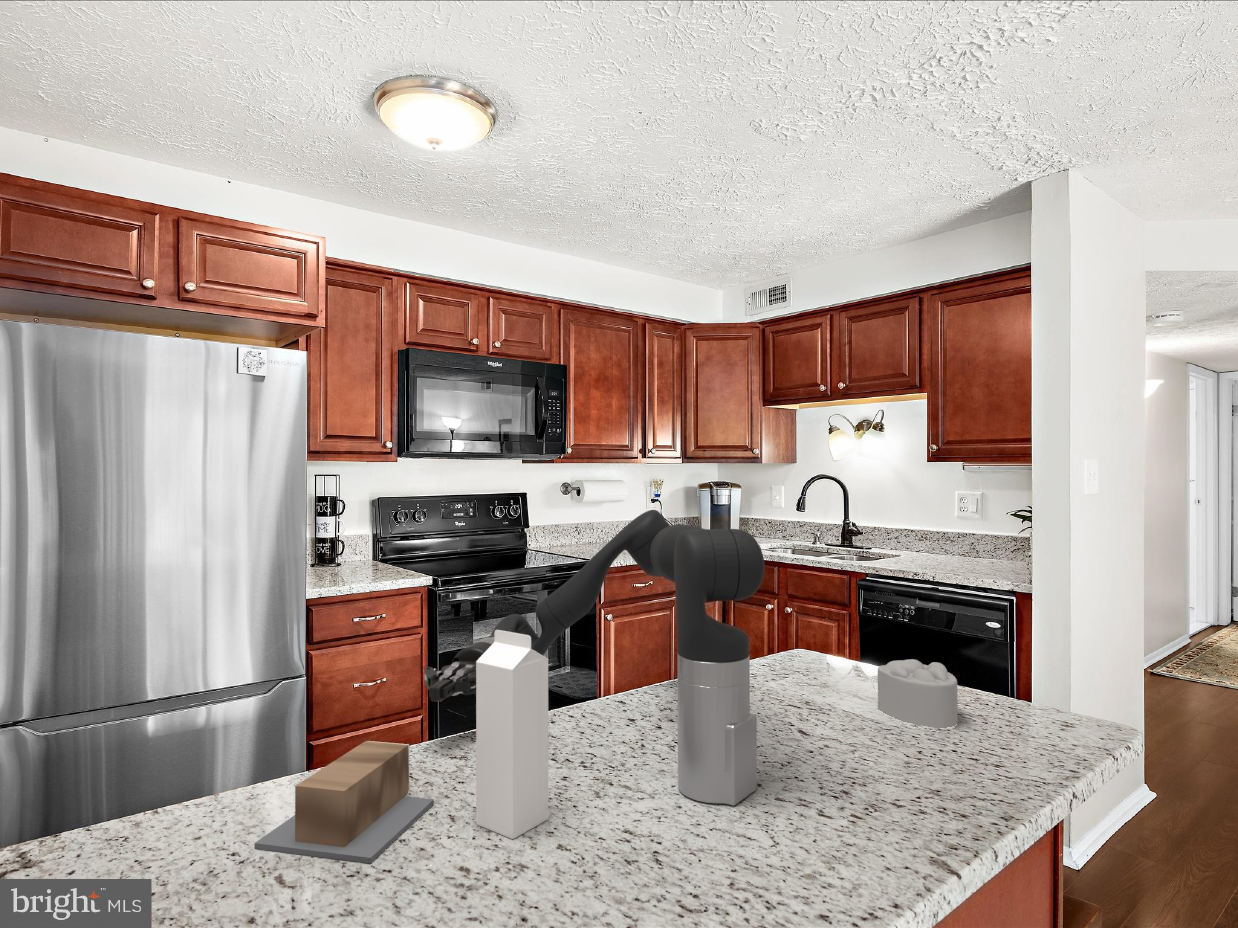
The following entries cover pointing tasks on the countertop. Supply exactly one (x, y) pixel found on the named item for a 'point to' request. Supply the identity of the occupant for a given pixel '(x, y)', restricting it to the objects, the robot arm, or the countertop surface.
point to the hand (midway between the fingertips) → (434, 694)
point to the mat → (363, 845)
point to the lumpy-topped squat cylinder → (918, 693)
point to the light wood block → (351, 793)
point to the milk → (511, 736)
